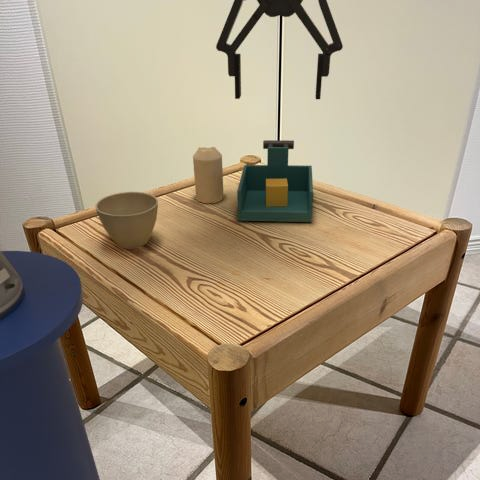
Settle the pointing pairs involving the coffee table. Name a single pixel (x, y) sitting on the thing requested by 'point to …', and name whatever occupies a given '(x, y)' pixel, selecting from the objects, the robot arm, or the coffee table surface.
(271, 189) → the block
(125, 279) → the coffee table surface
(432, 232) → the coffee table surface
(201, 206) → the coffee table surface
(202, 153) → the candle
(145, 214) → the beige bowl
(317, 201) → the coffee table surface
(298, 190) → the dustpan
